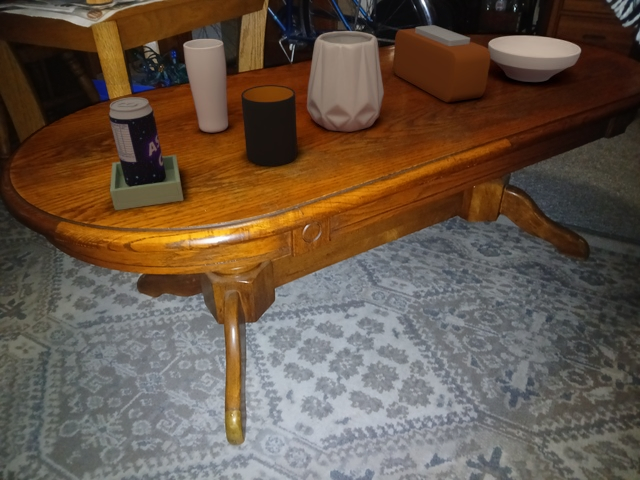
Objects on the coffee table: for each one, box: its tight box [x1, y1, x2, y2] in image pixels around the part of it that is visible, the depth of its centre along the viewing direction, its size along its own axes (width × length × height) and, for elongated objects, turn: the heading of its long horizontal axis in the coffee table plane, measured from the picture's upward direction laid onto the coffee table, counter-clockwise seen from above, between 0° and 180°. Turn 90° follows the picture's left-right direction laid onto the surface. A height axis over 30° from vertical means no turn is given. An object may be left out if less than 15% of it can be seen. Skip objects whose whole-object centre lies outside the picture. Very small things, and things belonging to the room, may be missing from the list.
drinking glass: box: [182, 38, 229, 134], centre depth 90 cm, size 7×7×15 cm
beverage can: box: [108, 96, 166, 187], centre depth 71 cm, size 6×6×12 cm
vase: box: [306, 30, 385, 133], centre depth 92 cm, size 14×14×15 cm
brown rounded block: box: [392, 24, 491, 104], centre depth 111 cm, size 24×8×11 cm, turn 22°
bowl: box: [487, 35, 582, 83], centre depth 116 cm, size 20×20×7 cm
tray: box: [109, 154, 184, 211], centre depth 74 cm, size 9×9×3 cm
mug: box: [240, 84, 298, 167], centre depth 83 cm, size 8×12×10 cm
